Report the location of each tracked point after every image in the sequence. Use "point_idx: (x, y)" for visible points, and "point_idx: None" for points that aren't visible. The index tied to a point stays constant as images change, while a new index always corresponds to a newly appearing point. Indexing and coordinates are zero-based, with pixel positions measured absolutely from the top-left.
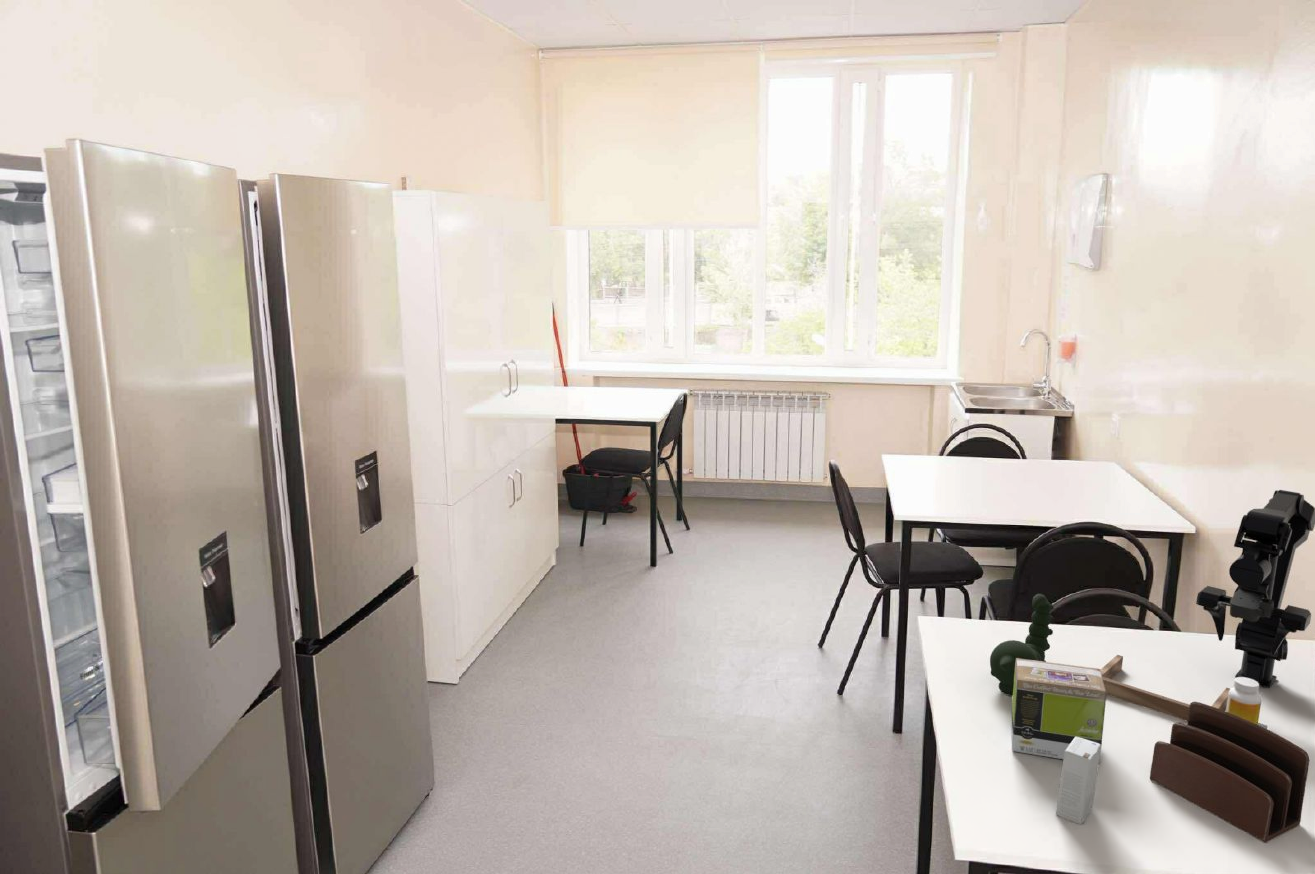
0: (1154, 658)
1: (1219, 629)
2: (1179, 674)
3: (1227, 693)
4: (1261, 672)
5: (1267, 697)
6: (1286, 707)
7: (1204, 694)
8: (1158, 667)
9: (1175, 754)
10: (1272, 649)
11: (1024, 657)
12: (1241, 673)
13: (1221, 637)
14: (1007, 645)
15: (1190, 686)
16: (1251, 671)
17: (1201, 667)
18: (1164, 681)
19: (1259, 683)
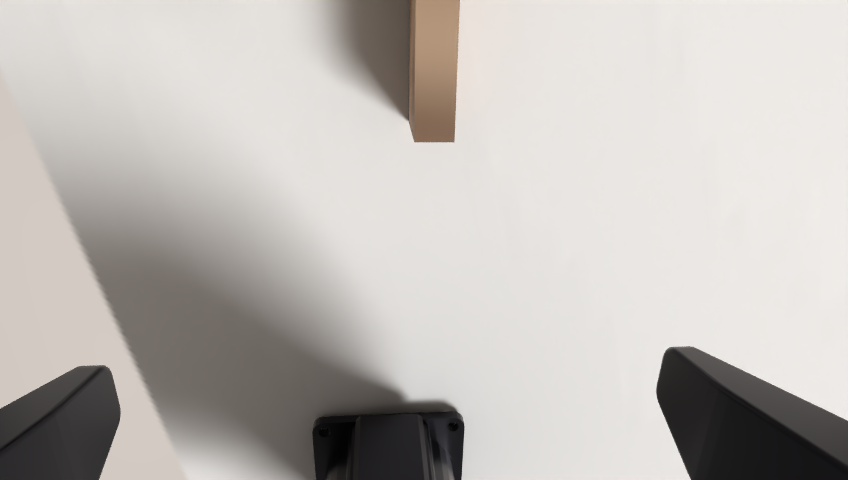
0: (803, 363)
1: (813, 424)
2: (686, 276)
3: (428, 46)
4: (353, 468)
5: (290, 324)
6: (186, 280)
7: (546, 127)
8: (783, 281)
9: None
10: (53, 399)
11: None
12: (444, 454)
13: (693, 365)
14: None
15: (623, 174)
16: (397, 452)
17: (604, 417)
18: (750, 134)
19: (356, 421)
